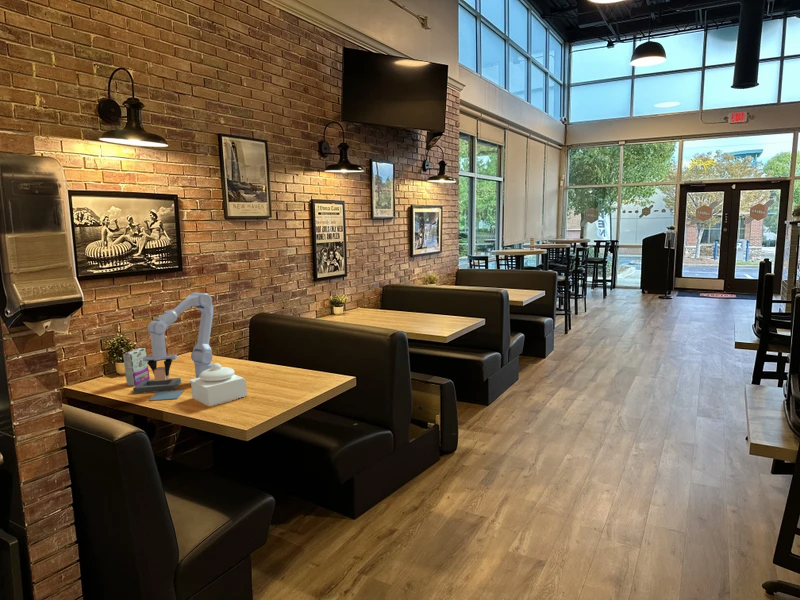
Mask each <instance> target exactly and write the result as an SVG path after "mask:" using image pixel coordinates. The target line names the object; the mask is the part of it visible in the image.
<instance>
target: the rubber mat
mask: <svg viewBox="0 0 800 600" xmlns="http://www.w3.org/2000/svg"><path fill="white" fill-rule="evenodd" d="M184 391H185V390H184V389H180V390H178V389H177V390H176V389H175V390H173V391H159V392H155V393H154V394H153V395H152V397H150V398H149V399H148V402H151V401H150V400H158V401H168V400H167V399H171V400H178V399H179V398H180V396H181V395H182V394H183V393H184ZM182 392H183V393H182Z"/></svg>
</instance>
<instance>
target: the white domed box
mask: <svg viewBox="0 0 800 600" xmlns="http://www.w3.org/2000/svg"><path fill="white" fill-rule="evenodd" d="M213 363H214V364H213V365H212V366H211V368H210V369H207V370H205V371H203V372H202V373H201V374H200V376H199V378H196V377H195V378H191V379H189V380H188V381H189V383H190V385H191V396H192V400H193V399H194V400H195V401H197V402H199V403H201V404H202V405H205V406H206V407H208V406H209V407H210V406H211V407H214V405H215V406H218V404H219V405H221V404H225V403H230V402H233V401H237V400H239V399H238V398H240V399H242V398H241V397H244V398H246V397H245V396H247V397H248V392H247V391H248V390H247V379H246V378H245V377H242V376H240V375H237V374H235V369H233V368H232V367H227V366H222V365H221V364H220V363H218V362H213ZM236 399H237V400H236ZM232 400H233V401H232ZM209 407H208V408H209ZM211 407H210V408H211Z"/></svg>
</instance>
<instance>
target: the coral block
mask: <svg viewBox="0 0 800 600" xmlns="http://www.w3.org/2000/svg"><path fill="white" fill-rule="evenodd" d="M153 376H154V380H155V381H162V380H166V379H169V377H170V374H169V375H168V376H166V370H165V366H157V368H156V369H155V370H154V373H153Z"/></svg>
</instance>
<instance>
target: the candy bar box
mask: <svg viewBox="0 0 800 600" xmlns="http://www.w3.org/2000/svg"><path fill="white" fill-rule="evenodd" d="M143 357H147V349H146V348H145V347H144V348H143V347H141V348H140V347H138V348H135V349H133V350H130V351H127V352H125V353H122V358H123V364H124V372H125V380H126V386H128V387H135V386H136V385H138V384H139V383H140V382H141V381H143V380H151V379H150V373H149V372H150V369H149V365H148V361H146V362H143Z"/></svg>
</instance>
